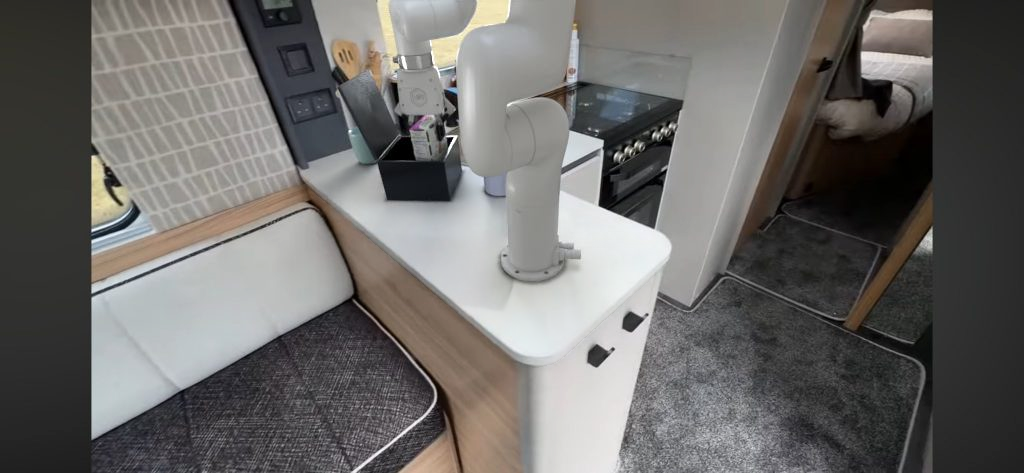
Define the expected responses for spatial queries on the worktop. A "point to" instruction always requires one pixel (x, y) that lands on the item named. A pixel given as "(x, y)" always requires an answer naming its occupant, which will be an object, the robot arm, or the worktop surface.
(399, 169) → the bin
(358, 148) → the cup
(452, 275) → the worktop surface
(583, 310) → the worktop surface
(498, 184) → the soap bottle
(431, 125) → the candy bar box
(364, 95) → the bin lid
